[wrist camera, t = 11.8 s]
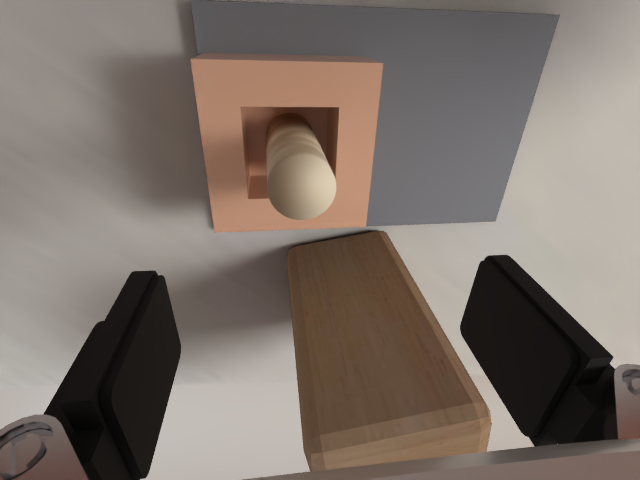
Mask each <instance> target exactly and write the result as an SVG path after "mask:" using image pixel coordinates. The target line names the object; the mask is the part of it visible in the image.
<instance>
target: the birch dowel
mask: <svg viewBox="0 0 640 480" xmlns="http://www.w3.org/2000/svg"><path fill="white" fill-rule="evenodd" d="M266 156H267V190H268V196H269V200H270V202H271V204H272V205H273V207H274V208H275V209H276V210H277V211H278V212H279V213H280V214H282V215H283V216H285V217H288V218H290V219H294V220H307V219H312V218H314V217H317V216H319V215H320V214H322V213H323V212H325V211H326V210H327V209H328V208H329V206H330V205H331V204H332V202H333V200H334V197H335V194H336V179H335V176H334V174H333V172H332V170H331V168H330V166H329V163H328V161H327V159H326V157H325V155H324V153H323V151H322V148H321V146H320V144H319V142H318V140H317V138H316V136H315V134H314V131H313V129H312V127H311V125H310V124H309V122H308V121H307V120H306V119H305V118H304V117H302V116H301V115H298V114H295V113H284V114H281V115H279V116H277V117H275V118H274V119H273V120H272V121H271V122H270V124H269V126H268V128H267V131H266Z"/></svg>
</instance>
